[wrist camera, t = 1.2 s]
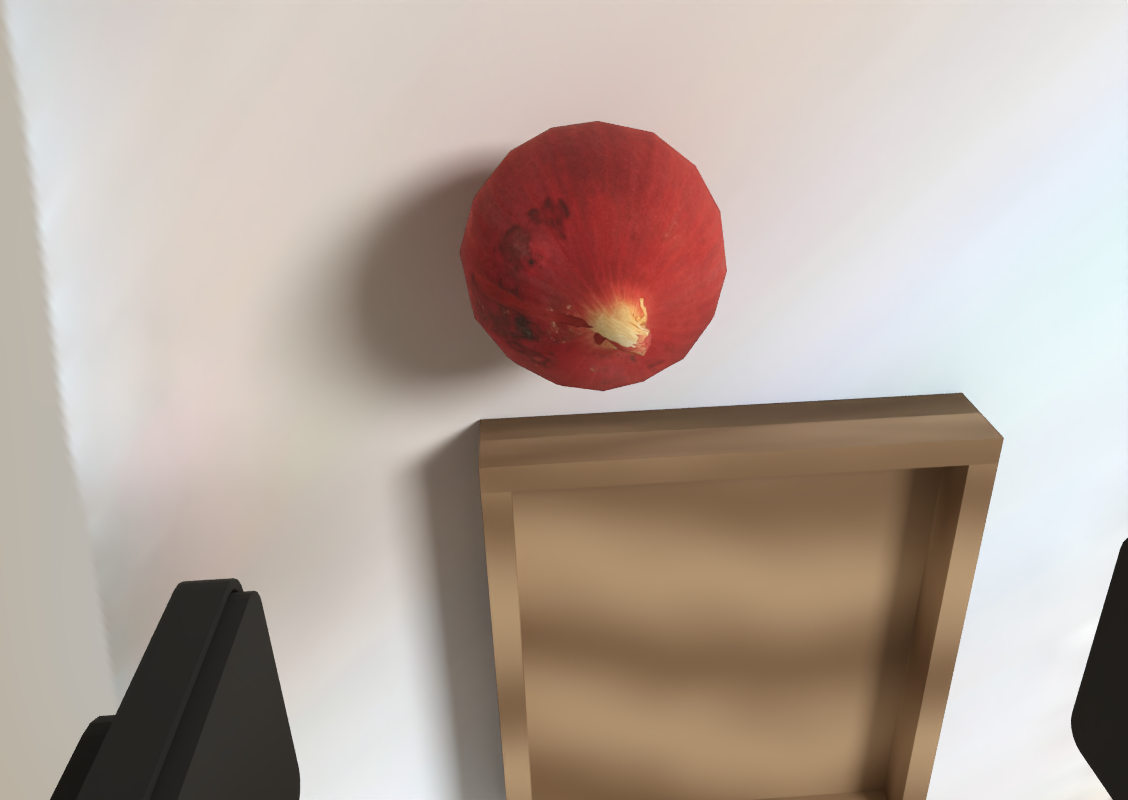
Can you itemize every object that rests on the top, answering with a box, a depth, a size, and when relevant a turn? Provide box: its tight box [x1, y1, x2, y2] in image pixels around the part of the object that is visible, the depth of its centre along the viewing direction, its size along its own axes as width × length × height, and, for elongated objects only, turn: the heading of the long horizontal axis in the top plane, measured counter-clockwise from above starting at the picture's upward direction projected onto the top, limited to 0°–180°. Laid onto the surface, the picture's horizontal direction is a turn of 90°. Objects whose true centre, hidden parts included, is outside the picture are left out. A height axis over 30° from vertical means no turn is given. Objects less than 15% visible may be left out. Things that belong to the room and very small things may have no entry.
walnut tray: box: [479, 393, 1004, 800], centre depth 30 cm, size 16×14×3 cm
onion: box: [460, 121, 727, 391], centre depth 21 cm, size 6×6×8 cm
